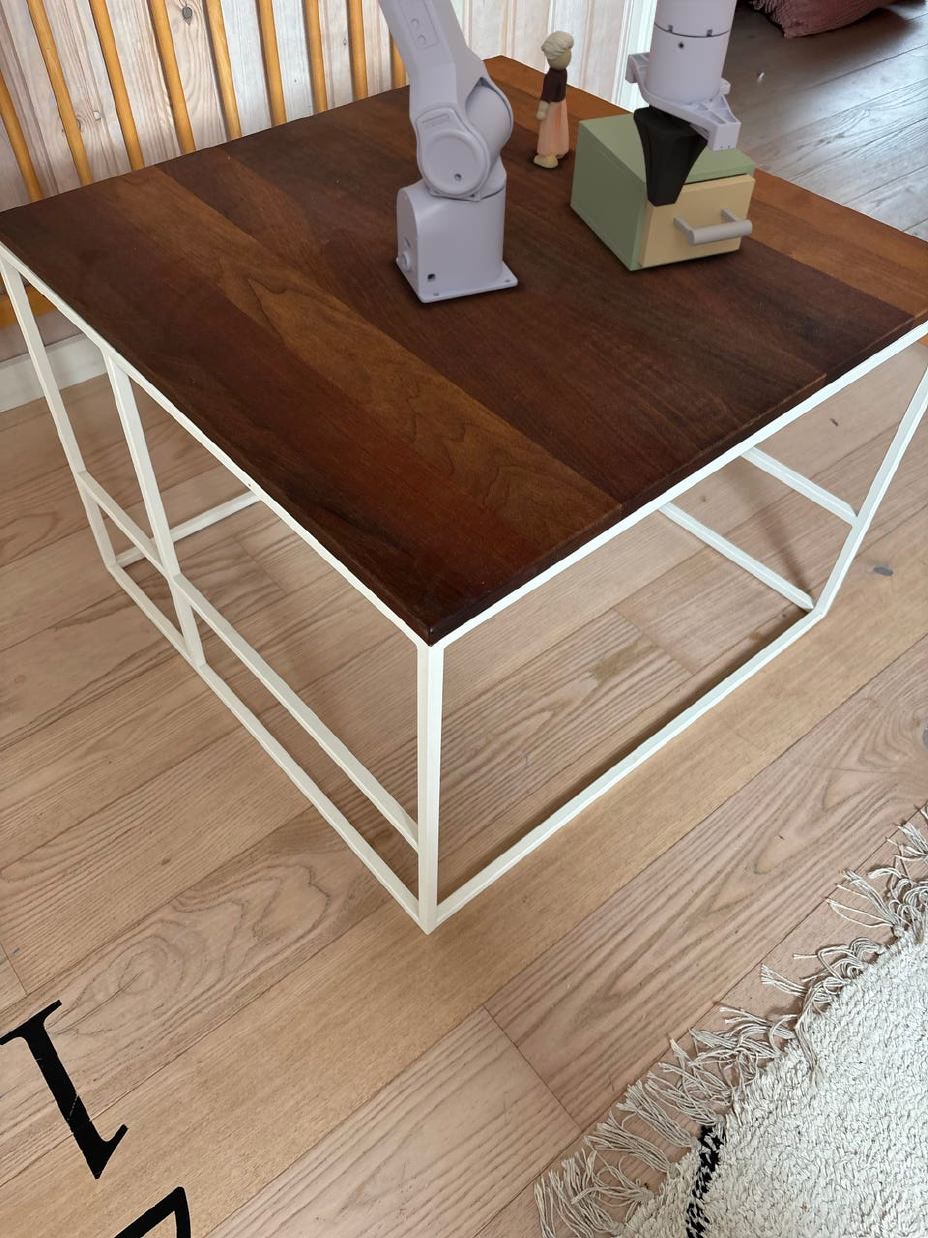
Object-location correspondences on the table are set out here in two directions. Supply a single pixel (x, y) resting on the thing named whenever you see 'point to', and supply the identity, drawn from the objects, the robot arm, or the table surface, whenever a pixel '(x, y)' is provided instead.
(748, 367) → the table surface
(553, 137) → the grandmother figurine
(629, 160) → the cabinet
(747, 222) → the drawer
